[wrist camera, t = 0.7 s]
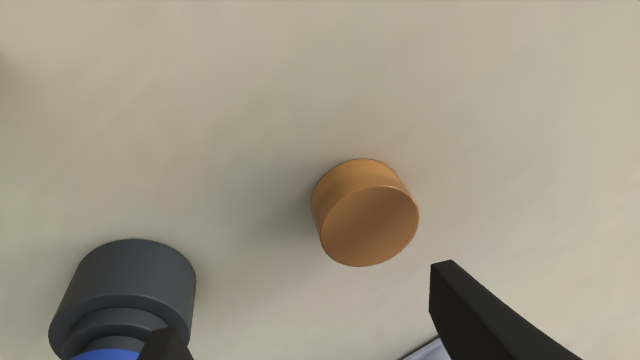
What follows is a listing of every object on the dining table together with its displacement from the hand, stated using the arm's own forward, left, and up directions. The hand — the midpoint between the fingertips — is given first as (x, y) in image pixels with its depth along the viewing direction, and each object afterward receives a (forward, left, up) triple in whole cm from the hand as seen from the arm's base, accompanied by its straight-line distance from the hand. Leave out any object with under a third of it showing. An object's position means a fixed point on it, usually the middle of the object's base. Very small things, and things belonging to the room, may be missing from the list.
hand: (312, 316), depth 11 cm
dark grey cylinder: (-1, +10, -9) cm, 14 cm away
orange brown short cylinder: (-5, -2, -9) cm, 10 cm away
